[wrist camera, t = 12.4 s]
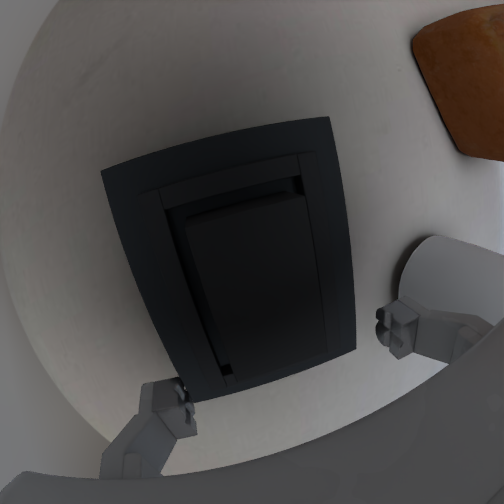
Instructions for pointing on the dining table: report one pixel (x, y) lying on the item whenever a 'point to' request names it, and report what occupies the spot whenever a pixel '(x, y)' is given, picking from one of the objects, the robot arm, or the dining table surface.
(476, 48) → the bread
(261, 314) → the black pad
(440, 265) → the cup
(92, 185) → the dining table surface
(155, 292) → the base pad
